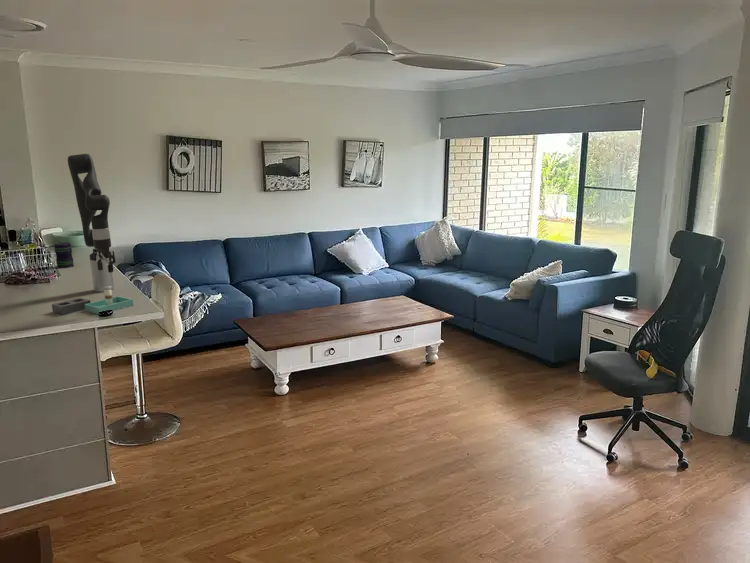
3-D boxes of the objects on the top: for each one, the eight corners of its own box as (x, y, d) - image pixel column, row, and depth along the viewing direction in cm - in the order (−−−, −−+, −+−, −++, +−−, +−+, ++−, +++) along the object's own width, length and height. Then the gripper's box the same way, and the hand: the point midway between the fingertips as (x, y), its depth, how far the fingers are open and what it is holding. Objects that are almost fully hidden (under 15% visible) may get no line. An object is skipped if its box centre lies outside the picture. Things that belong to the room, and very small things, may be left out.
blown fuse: (110, 305, 293) (108, 285, 291) (114, 306, 292) (112, 286, 289) (104, 307, 291) (101, 287, 288) (108, 308, 289) (106, 287, 287)
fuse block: (80, 305, 296) (79, 297, 296) (91, 308, 292) (90, 300, 291) (52, 312, 285) (51, 304, 284) (63, 315, 280) (61, 306, 279)
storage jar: (57, 266, 391) (54, 243, 387) (74, 264, 395) (71, 242, 391) (56, 268, 382) (53, 245, 378) (73, 267, 386) (70, 244, 382)
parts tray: (119, 302, 302) (118, 296, 301) (133, 305, 295) (133, 299, 295) (85, 310, 287) (84, 304, 287) (99, 314, 281) (98, 308, 280)
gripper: (117, 237, 282) (121, 271, 286) (100, 235, 290) (104, 267, 294) (103, 240, 276) (107, 274, 280) (85, 237, 284) (89, 270, 288)
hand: (105, 271), depth 287 cm, fingers open, 8 cm apart
